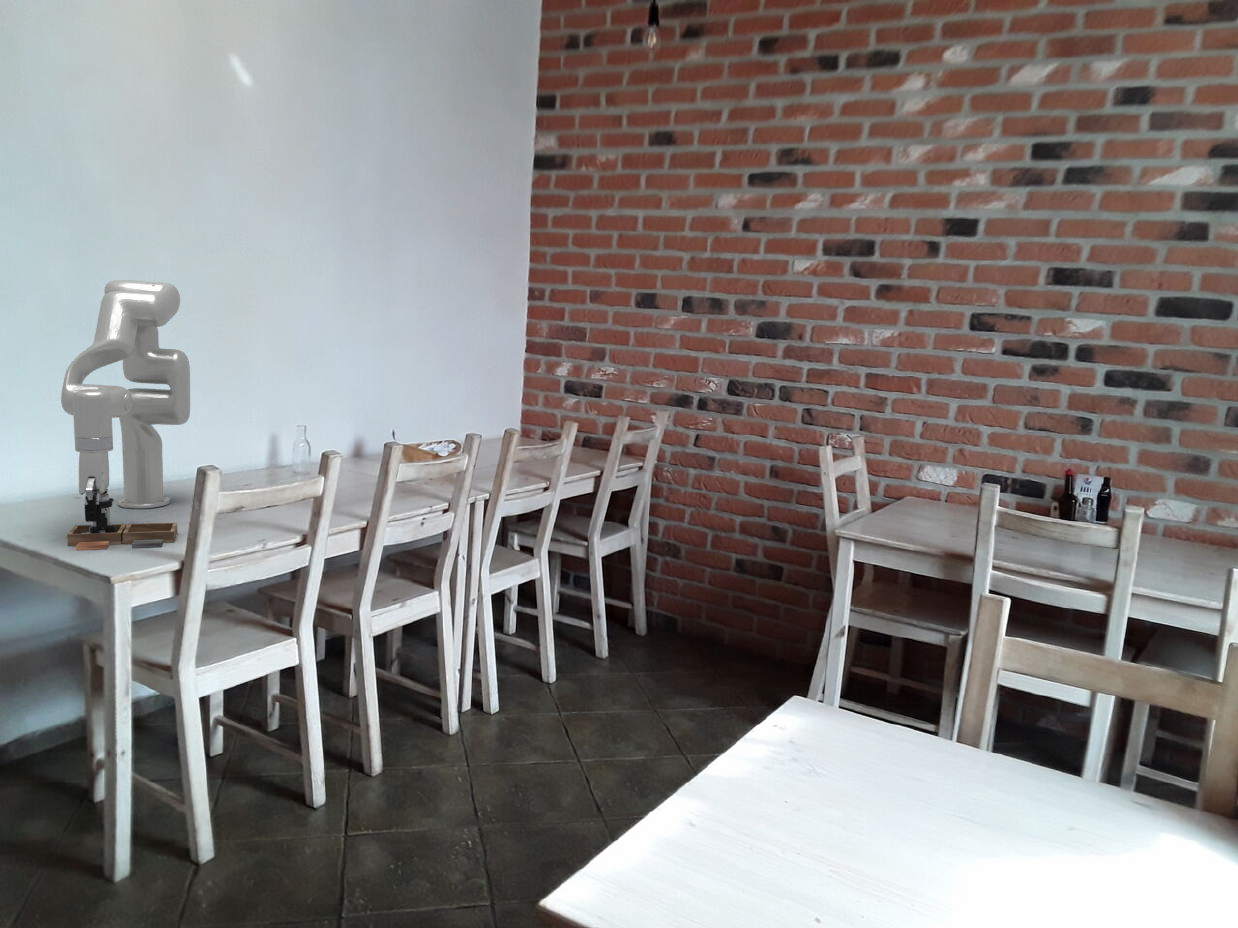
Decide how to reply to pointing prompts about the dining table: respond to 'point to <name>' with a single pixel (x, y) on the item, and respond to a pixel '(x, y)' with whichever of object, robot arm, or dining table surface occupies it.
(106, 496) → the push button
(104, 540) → the terracotta tag dock
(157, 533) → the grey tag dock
